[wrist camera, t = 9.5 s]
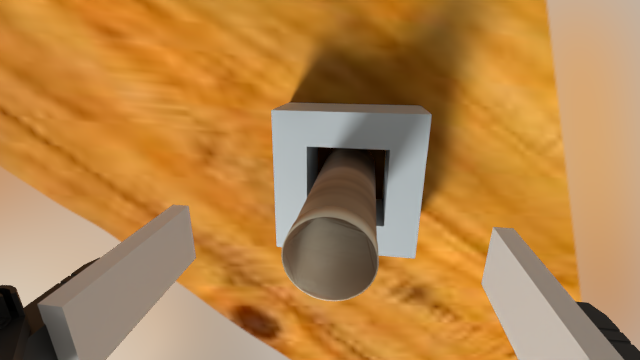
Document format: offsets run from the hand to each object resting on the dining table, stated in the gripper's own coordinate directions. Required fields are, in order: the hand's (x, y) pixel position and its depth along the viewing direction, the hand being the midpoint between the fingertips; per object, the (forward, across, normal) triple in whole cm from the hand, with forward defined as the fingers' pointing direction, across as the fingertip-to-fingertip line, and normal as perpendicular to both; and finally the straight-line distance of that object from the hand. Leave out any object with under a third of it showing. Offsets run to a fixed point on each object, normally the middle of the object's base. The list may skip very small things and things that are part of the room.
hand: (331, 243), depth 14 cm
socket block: (+13, 0, -1) cm, 13 cm away
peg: (+13, 0, -1) cm, 13 cm away
